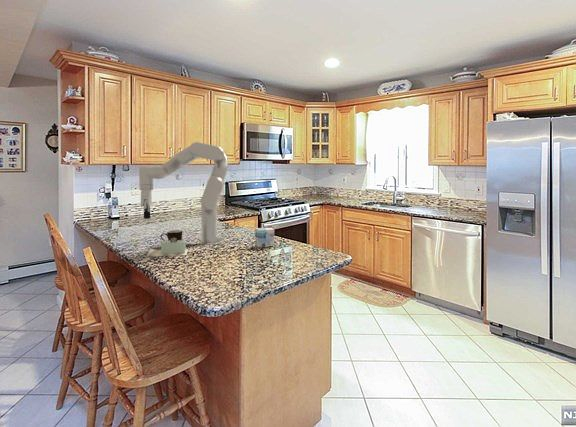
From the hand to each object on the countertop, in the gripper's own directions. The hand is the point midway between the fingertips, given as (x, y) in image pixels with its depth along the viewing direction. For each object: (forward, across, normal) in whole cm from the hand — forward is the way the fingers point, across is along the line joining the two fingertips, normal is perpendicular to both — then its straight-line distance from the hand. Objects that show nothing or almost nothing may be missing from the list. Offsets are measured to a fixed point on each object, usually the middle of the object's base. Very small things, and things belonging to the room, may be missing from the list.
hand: (147, 218), depth 213 cm
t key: (+1, 0, 0) cm, 1 cm away
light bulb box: (+16, +12, +69) cm, 72 cm away
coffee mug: (+17, +9, +15) cm, 24 cm away
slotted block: (+15, +27, +17) cm, 35 cm away
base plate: (+17, +27, +14) cm, 35 cm away
